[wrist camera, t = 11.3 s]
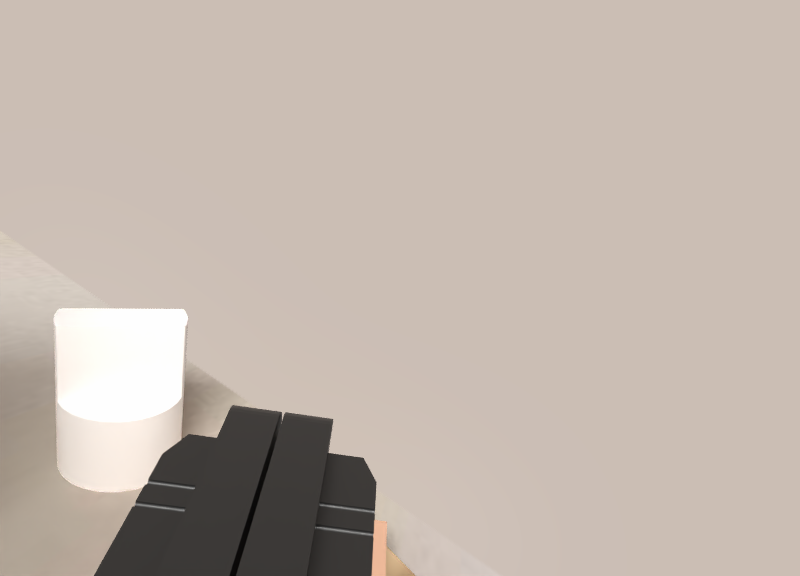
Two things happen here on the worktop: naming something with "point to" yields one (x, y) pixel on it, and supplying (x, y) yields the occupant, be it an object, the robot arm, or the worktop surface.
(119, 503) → the worktop surface
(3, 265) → the worktop surface
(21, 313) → the worktop surface
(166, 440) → the base with upright slab
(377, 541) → the tile
